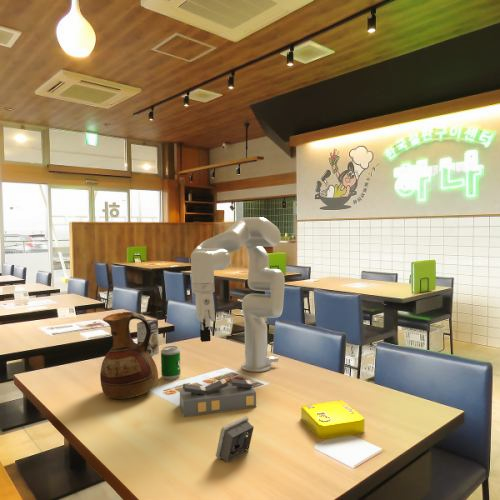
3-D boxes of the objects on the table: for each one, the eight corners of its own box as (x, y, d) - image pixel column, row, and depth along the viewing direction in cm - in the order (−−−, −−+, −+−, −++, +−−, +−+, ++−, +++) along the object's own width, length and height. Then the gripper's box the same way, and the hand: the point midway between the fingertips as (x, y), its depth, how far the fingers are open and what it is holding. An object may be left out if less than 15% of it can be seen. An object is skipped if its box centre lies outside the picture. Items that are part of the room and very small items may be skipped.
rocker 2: (225, 381, 145) (224, 378, 145) (228, 385, 141) (226, 382, 141) (206, 390, 143) (204, 386, 143) (208, 394, 139) (207, 390, 139)
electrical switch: (240, 445, 116) (242, 413, 115) (254, 453, 113) (256, 420, 112) (215, 459, 110) (216, 425, 109) (228, 468, 106) (230, 433, 105)
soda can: (176, 381, 166) (175, 351, 166) (158, 380, 168) (157, 350, 167) (183, 374, 174) (182, 345, 173) (166, 373, 175) (165, 345, 175)
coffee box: (149, 358, 197) (148, 323, 196) (137, 357, 199) (136, 323, 198) (159, 352, 206) (158, 319, 205) (147, 351, 208) (146, 318, 207)
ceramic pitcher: (99, 388, 160) (96, 309, 158) (153, 380, 168) (150, 305, 166) (103, 408, 142) (100, 320, 140) (163, 398, 150) (161, 314, 148)
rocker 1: (202, 390, 143) (203, 386, 143) (205, 394, 139) (206, 390, 139) (182, 387, 141) (183, 382, 141) (184, 391, 137) (185, 387, 137)
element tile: (367, 433, 122) (367, 417, 122) (319, 441, 118) (319, 424, 118) (342, 412, 137) (342, 397, 137) (299, 418, 133) (298, 403, 133)
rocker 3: (248, 384, 147) (249, 380, 147) (251, 388, 144) (252, 384, 144) (229, 381, 145) (230, 377, 145) (232, 385, 142) (233, 381, 142)
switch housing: (247, 395, 151) (247, 380, 150) (256, 407, 141) (256, 390, 141) (179, 404, 144) (179, 388, 144) (184, 417, 134) (183, 400, 134)
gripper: (219, 290, 137) (221, 345, 138) (209, 283, 151) (211, 334, 153) (196, 292, 135) (198, 348, 136) (188, 285, 149) (191, 336, 150)
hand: (205, 340), depth 144 cm, fingers closed
